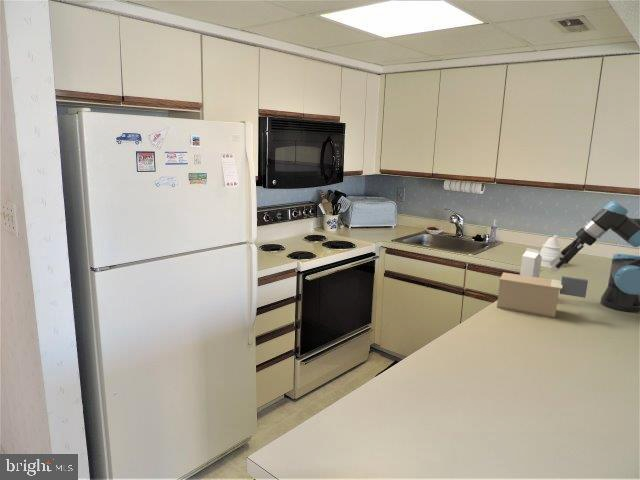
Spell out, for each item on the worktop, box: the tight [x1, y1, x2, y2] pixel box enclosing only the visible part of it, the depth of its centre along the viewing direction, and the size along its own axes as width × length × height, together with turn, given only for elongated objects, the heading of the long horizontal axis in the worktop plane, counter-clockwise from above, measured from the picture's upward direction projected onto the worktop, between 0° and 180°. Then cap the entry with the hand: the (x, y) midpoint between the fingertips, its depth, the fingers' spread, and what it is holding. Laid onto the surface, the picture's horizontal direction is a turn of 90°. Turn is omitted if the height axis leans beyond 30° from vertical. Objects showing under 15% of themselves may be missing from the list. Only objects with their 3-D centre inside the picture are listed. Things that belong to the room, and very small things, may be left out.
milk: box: [519, 247, 542, 278], centre depth 205 cm, size 6×6×22 cm
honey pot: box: [539, 234, 562, 269], centre depth 262 cm, size 13×13×18 cm
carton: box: [496, 279, 560, 319], centre depth 189 cm, size 22×11×12 cm, turn 62°
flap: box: [499, 272, 589, 299], centre depth 185 cm, size 32×12×7 cm, turn 62°
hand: (551, 269), depth 195 cm, fingers open, 13 cm apart
